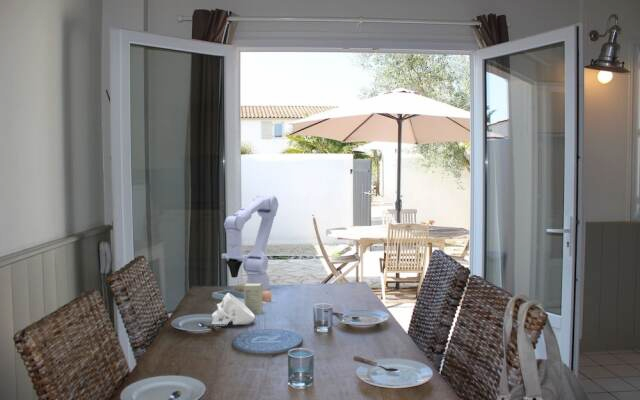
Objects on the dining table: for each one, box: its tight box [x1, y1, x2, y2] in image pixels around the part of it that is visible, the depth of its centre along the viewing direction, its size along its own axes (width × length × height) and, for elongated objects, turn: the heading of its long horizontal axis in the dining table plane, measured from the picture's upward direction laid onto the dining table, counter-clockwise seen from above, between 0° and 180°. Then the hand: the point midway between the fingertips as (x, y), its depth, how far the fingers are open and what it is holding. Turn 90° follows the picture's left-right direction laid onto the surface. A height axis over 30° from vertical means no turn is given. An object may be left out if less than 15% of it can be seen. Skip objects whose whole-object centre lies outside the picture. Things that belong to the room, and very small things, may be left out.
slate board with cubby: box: [211, 289, 278, 305], centre depth 249 cm, size 15×24×4 cm, turn 47°
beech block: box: [234, 284, 245, 293], centre depth 257 cm, size 4×4×4 cm
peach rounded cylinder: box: [262, 289, 272, 303], centre depth 245 cm, size 4×4×4 cm
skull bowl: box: [211, 293, 256, 325], centre depth 215 cm, size 10×14×12 cm
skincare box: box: [243, 283, 264, 319], centre depth 226 cm, size 6×4×12 cm
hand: (234, 277), depth 252 cm, fingers closed
